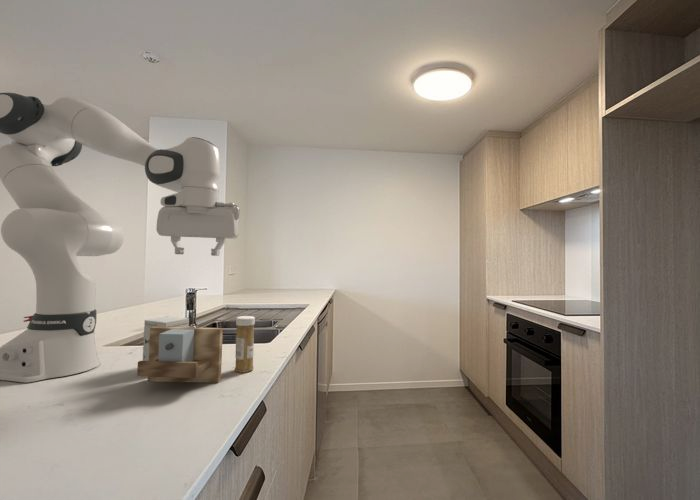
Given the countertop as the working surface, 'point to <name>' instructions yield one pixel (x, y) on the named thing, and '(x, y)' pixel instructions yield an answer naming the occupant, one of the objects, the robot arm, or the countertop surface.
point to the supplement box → (160, 322)
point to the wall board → (198, 370)
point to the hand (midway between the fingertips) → (197, 255)
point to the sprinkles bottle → (244, 343)
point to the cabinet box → (176, 345)
